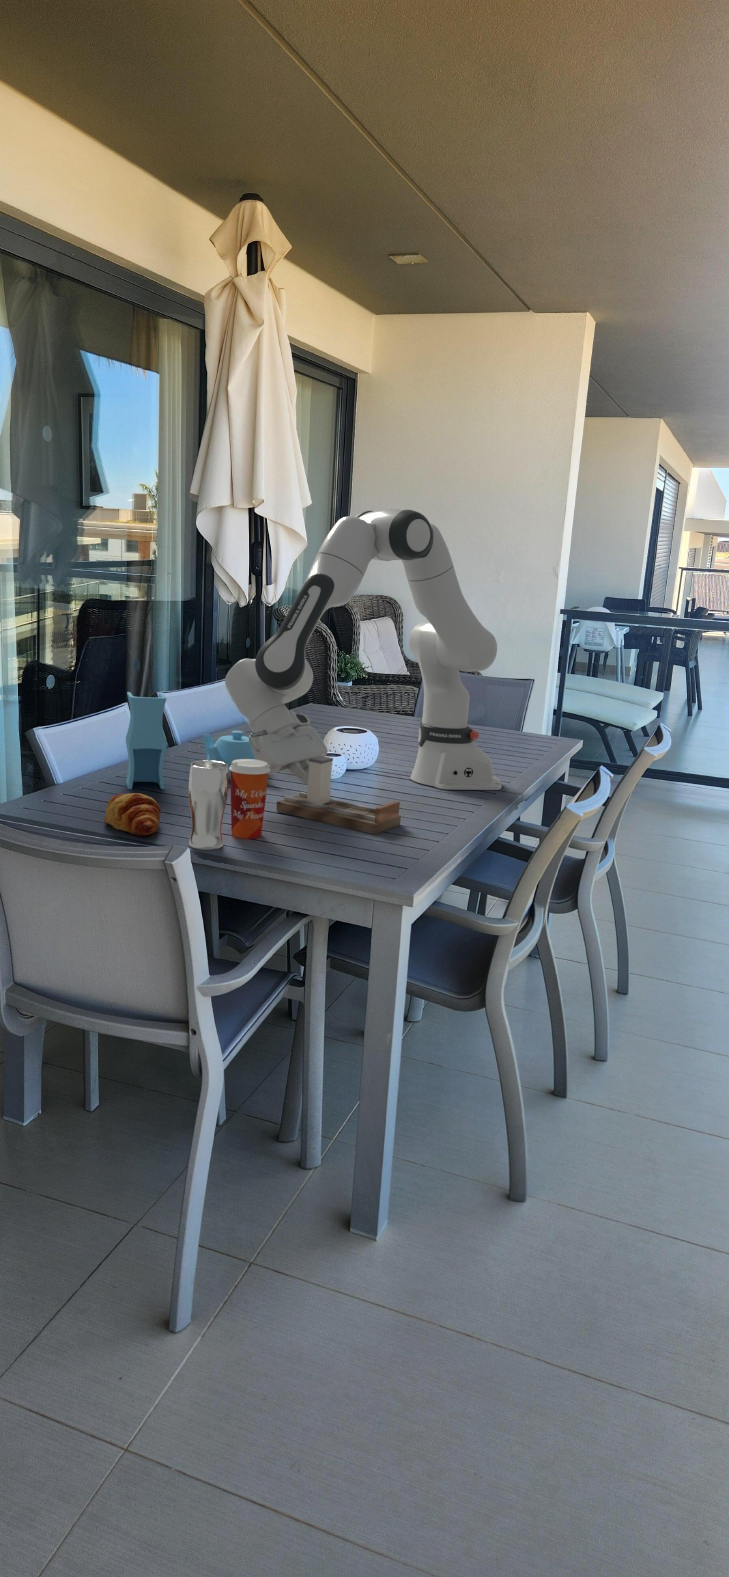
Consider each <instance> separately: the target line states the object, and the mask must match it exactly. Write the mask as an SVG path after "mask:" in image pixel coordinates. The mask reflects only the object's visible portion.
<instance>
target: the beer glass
mask: <svg viewBox="0 0 729 1577" xmlns="http://www.w3.org/2000/svg"><path fill="white" fill-rule="evenodd" d="M188 776H189V777H188V803H189V810H190V816H191V831H190V832H191V833H190V837H189V841H188V845H189V846H190V848H192V849H196V850H201V851H202V850H203V851H210V850H211V851H214V850H218V849H221V848H222V847H223V846H224V841H223V832H222V825H223V819H224V815H225V814H224V813H225V810H226V804H227V801H228V792H229V781H228V765H227V764H226V763H223V762H219V761H209V760H207V759H206V760H194V761H191V763H190V770H189V774H188Z"/></svg>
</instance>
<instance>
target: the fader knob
mask: <svg viewBox="0 0 729 1577" xmlns="http://www.w3.org/2000/svg"><path fill="white" fill-rule="evenodd" d="M333 761H334V758H333V757H328V756H325V757H324V756H317V757H312V758H309V775H308V784H307V789H306V790H307V792H306V793H307V801H309V802H313V803H318V804H325V803H328V802H329V799H330V797H331V796H330V795H331V784H332V783H331V781H332V769H333V768H332V767H333Z"/></svg>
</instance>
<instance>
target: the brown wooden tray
mask: <svg viewBox="0 0 729 1577" xmlns="http://www.w3.org/2000/svg"><path fill="white" fill-rule="evenodd" d="M283 798H284V799H281V800H278V801H276V812H279V813H284V814H289V815H291V816H296V817H301V818H305V819H310V820H312V821H318V822H322V823H325V824H326V823H327V824H330V825H335V826H338V827H343V828H347V829H351V830H355V831H359V832H365V833H368V834H372V835H378V834H380V833H383V832H385V831H388V830H391V829H393V828H395V827H398V826H400V825H401V821H402V820H401V818H402V816H401V815H400V814H399V813H400V805H401V804H400V801H396V800H394V801H392V802H389V803H386V804H383V805H380V806H377V807H371V806H370V807H369V806H368V805H367V806H366V805H361V804H358V803H352V802H349V801H344V800H339V799H334V798H330V799H329V802H328V803H325V804H318V803H313V802H309V801H307V792H304V791H300V792H299V793H298V794H297V795H295V796H291V797H290V796H288V795H287V796H283Z"/></svg>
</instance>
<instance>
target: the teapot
mask: <svg viewBox="0 0 729 1577" xmlns="http://www.w3.org/2000/svg"><path fill="white" fill-rule="evenodd" d="M230 732H231V735H229V734H228V735H223V736H220V737H219V738H218V739H217V740H216V742H215V741H214V739H213V737H212V735H211V734H208V733H207V734H206V733H204V734H202V739H203V746H204V750H205V751H204V752H205V755H206V760H209V761H219V762H223V763H226V764H227V765H228V782H231V771H230V770H229V767H230V766H231V763H232V761H234V760H238V759H254V760H256V758H255V756H254V754H253V752H252V748H251V747H252V746H251V744H250V743H249V741H248V740H249V736H246V735H244V731H242V730H233V731H230Z"/></svg>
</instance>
